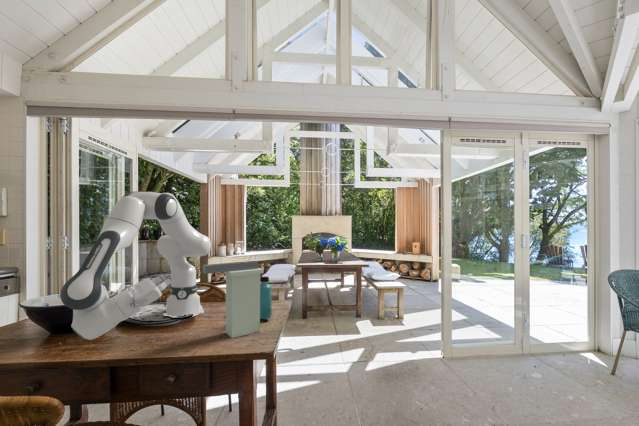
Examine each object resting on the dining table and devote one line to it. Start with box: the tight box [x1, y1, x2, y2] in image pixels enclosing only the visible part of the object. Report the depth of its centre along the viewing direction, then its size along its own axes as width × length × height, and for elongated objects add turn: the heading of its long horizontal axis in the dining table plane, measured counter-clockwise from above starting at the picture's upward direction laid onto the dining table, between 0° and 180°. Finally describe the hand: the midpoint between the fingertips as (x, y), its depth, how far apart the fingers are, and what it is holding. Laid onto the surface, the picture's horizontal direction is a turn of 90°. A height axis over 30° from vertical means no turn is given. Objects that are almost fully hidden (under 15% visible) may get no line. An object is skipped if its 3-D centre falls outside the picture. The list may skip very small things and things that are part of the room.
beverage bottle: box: [260, 276, 273, 320], centre depth 150 cm, size 6×7×20 cm
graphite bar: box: [202, 260, 259, 275], centre depth 131 cm, size 22×3×3 cm, turn 126°
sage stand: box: [222, 267, 265, 339], centre depth 134 cm, size 14×9×26 cm, turn 126°
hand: (167, 278), depth 117 cm, fingers open, 8 cm apart
